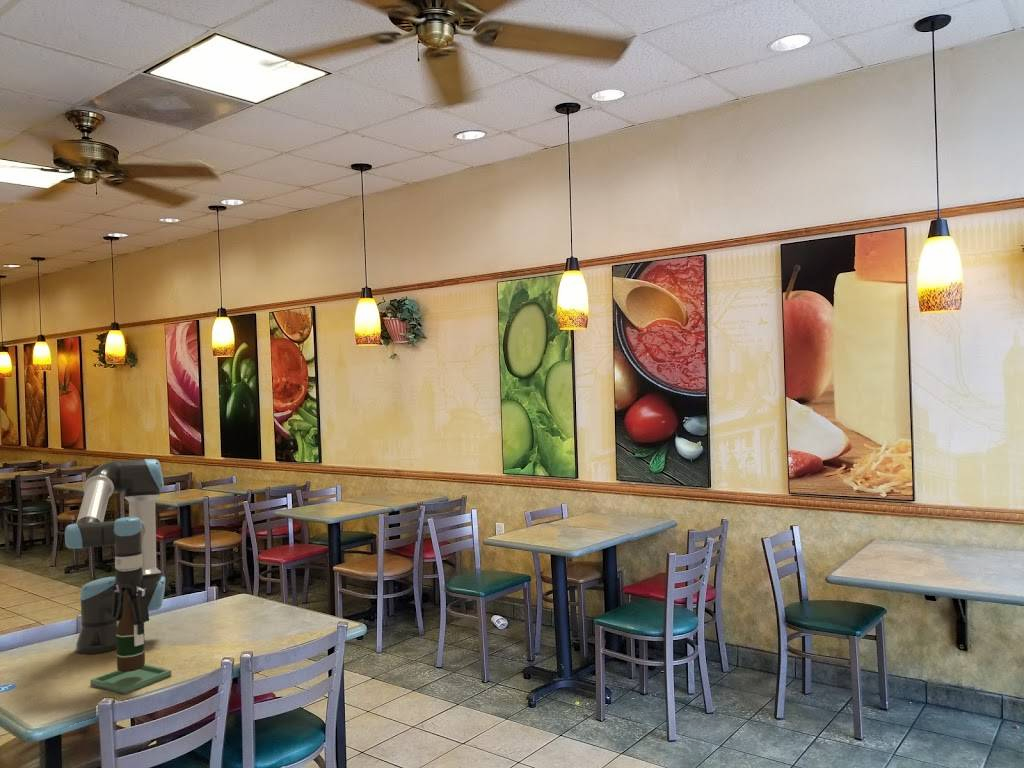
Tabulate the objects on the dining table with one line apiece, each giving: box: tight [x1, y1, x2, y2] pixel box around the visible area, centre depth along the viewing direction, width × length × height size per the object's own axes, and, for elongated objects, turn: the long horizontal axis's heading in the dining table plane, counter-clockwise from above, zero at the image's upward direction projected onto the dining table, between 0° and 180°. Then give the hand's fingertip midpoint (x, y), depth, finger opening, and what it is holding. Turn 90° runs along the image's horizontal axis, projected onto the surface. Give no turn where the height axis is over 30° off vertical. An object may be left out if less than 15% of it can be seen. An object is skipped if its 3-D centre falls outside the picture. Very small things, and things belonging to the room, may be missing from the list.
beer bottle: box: [116, 590, 146, 672], centre depth 238 cm, size 8×8×24 cm
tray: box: [90, 663, 172, 695], centre depth 238 cm, size 16×16×2 cm
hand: (130, 642), depth 238 cm, fingers closed on beer bottle, 7 cm apart
